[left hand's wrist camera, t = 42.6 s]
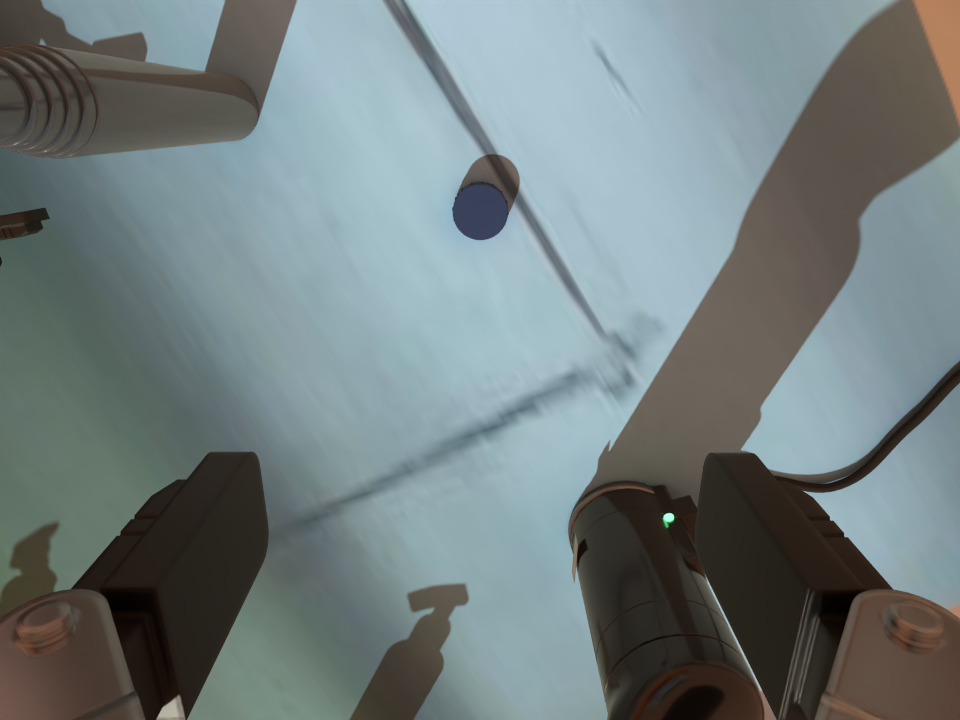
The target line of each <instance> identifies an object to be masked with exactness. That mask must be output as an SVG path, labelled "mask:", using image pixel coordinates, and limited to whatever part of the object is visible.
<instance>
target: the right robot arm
mask: <svg viewBox="0 0 960 720" xmlns="http://www.w3.org/2000/svg"><path fill="white" fill-rule="evenodd" d="M46 219H50V218H49V216H48V213H47V211H46V208H41V209H35V210H30V211H24V212H18V213H13V214H7V215H2V216H0V240H5V239H11V238H16V237H22V236H26V235H30V234H34V233H37V232H39V231H40V230H42V229H43V226H42V224H41V221H42V220H46ZM1 264H2V260H1V257H0V266H1Z"/></svg>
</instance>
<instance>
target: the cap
mask: <svg viewBox="0 0 960 720" xmlns="http://www.w3.org/2000/svg"><path fill="white" fill-rule="evenodd" d="M452 210H453V218H454V221H455V224H456V226H457V228H458V229H459V231H461V232H462V233H463V234H464V235H465V236H467V237H469V238H472V239H475V240H485V239H489V238H492V237H494V236H495V235H497V234H498V233H499V232H500V231H501V230H502V229H503V227H504V225H505V223H506V221H507V216H508V208H507V201H506V200H505V198H504V196H503V194H502V191H500V190H498V189H497V188H496V187H495V186H494V185H493V184H492V185H491V184H488V183H484V182H483V181H482V182H476V183H471V184H470V185H468V186H466V187H465V188H462V190H461V191H460V192H459V194H458V195H457V197H455V202H454V206H453V208H452Z"/></svg>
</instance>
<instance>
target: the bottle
mask: <svg viewBox="0 0 960 720" xmlns="http://www.w3.org/2000/svg"><path fill="white" fill-rule="evenodd" d="M257 120H258V105H257V101H256V98H255V96H254V94H253V93H252V91H251V90H250V88H249V87H248V86H247V85H246V84H245V83H244V82H242V81H241V80H239V79H237V78H235V77H233V76H229V75H223V74H217V73H211V72H205V71H199V70H192V69H186V68H180V67H174V66H168V65H162V64H156V63H149V62H143V61H137V60H131V59H125V58H119V57H113V56H107V55H100V54H94V53H88V52H82V51H76V50H70V49H64V48H57V47H51V46H45V45H38V44H27V45H25V44H15V45H9V46H6V47H0V148H3V149H7V150H11V151H16V152H20V153H24V154H29V155H32V156H36V157H49V158H69V157H79V156H89V155H99V154H109V153H119V152H129V151H139V150H149V149H159V148H169V147H179V146H189V145H199V144H209V143H219V142H229V141H237V140H241V139H243V138H245V137H247V136H248V135H249V134H250V133H251V132H252V131H253V129H254V128H255V126H256V123H257Z"/></svg>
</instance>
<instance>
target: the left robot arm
mask: <svg viewBox="0 0 960 720" xmlns="http://www.w3.org/2000/svg"><path fill="white" fill-rule="evenodd" d="M959 383H960V370H959V371H957V372H956V373H955V374H954V375H953V376H952V377H950V378H949V379H948V380H947V381H946V382H945V383H944V384H943V385H942V386H941V387H940V388H939V390H938V391H937V392H936V393H935V394H934V395H933V396H932V397H931V398H930V399H929V401H928V402H927V403H926V404H925V405H924V406H923V407H922V408H921V409H920V410H919V411H918V412H917V413H916V414H915V415H914V416H913V417H912V418H911V419H910V420H908V421H907V422H906V423H905V424H904V425H903V426H902V427H901V428H899V429H898V430H897V431H896V432H895V433H894V434H893V435H892V436H891V438H890V439H889V440H888V441H887V442H886V443H885V444H884V445H883V446H882V447H881V448H880V450H879V451H878V452H877V453H876V454H875V455H874V456H873V457H872V458H871V459H870V460H869V461H868V462H867V463H866V464H865V465H864V466H862V467H861V468H860V469H859V470H857V471H856V472H854V473H853V474H851V475H849V476H847V477H845V478H843V479H841V480H838V481H835V482H832V483H827V484H811V483H805V482H800V481H796V480H792V479H787V478H783V477H777V476H773V475H772V474H771V472H770V471H769V470H768V469H767V468H766V466H765V465H764V464H763V463H762V461H761V460H760V459H759V458H758V457H757V456H756V455H755V454H754V453H709V454H708V455H707V457H706V459H705V462H704V467H703V473H702V480H701V487H700V495H699V502H698V509H697V507H696V506H695V504H694V502H693V500H692V498H691V497H690V495H689V496H685V497H681V498H678V499H674V500H672V498H671V496H670V494H669V492H668V490H667V489H666V487H665V486H664V485H661V486H657V487H650V486H647V485H644V484H641V483H636V482H616V483H611V484H607V485H604V486H601V487H599V488H597V489H595V490H593V491H592V492H590V493H589V494H587V495H586V496H585V497H584V498H583V499H582V500H581V501H580V502H579V503H578V504H577V506H576V507H575V509H574V510H573V512H572V515H571V517H570V520H569V526H568V534H569V540H570V544H571V548H572V551H573V567H572V574H573V579H574V584H575V572H576V567H577V572H578V577H579V581H580V586H581V591H582V595H583V600H584V605H585V609H586V614H587V619H588V623H589V628H590V633H591V637H592V642H593V647H594V652H595V656H596V661H597V666H598V670H599V675H600V680H601V684H602V689H603V694H604V698H605V702H606V707H607V712H608V717H607V720H765V711H764V704H763V699H762V696H761V693H760V691H759V688H758V686H757V684H756V682H755V679H754V677H753V675H752V673H751V671H750V669H749V667H748V665H747V664H746V661H745V659H744V657H743V655H742V653H741V651H740V649H739V647H738V645H737V643H736V641H735V639H734V637H733V635H732V633H731V631H730V629H729V627H728V625H727V623H726V620H725V618H724V616H723V614H722V612H721V610H720V608H719V606H718V604H717V602H716V600H715V598H714V596H713V594H712V592H711V590H710V588H709V585H708V583H707V580H706V577H707V579H708V581H709V583H710V585H711V587H712V589H713V591H714V593H715V595H716V597H717V599H718V601H719V603H720V605H721V607H722V609H723V611H724V613H725V615H726V618H727V620H728V622H729V624H730V626H731V628H732V630H733V632H734V634H735V636H736V638H737V640H738V642H739V644H740V646H741V648H742V650H743V652H744V654H745V656H746V658H747V660H748V662H749V664H750V666H751V668H752V670H753V672H754V674H755V676H756V679H757V681H758V683H759V685H760V687H761V689H762V691H763V693H764V695H765V697H766V699H767V701H768V703H769V705H770V707H771V709H772V711H773V713H774V715H775V717H776V719H777V720H960V619H959V618H958V617H957V616H955V615H954V614H953V613H951V612H950V611H948V610H947V609H945V608H943V607H941V606H940V605H938V604H936V603H934V602H932V601H930V600H927V599H925V598H922V597H920V596H917V595H914V594H910V593H907V592H903V591H898V590H893V589H892V588H891V586H890V585H889V584H888V583H887V582H886V581H885V579H884V578H883V577H882V576H881V575H880V574H879V573H878V571H877V570H876V569H875V568H874V567H873V566H872V565H871V563H870V562H869V561H868V560H867V559H866V558H865V557H864V555H863V554H862V553H861V552H860V551H859V550H858V549H857V547H856V546H855V545H854V544H853V543H852V542H851V541H850V539H849V538H848V537H844V533H843V531H842V530H841V529H840V528H839V527H838V526H837V525H836V523H835V522H834V521H830V517H829V515H828V514H827V513H826V512H825V511H824V510H823V509H822V507H821V506H820V505H819V504H818V503H817V502H816V500H815V499H814V498H813V497H811V496H810V495H808V494H807V493H805V492H803V491H807V492H818V493H824V492H832V491H836V490H840V489H843V488H845V487H848V486H850V485H852V484H854V483H856V482H857V481H859V480H861V479H862V478H864V477H865V476H866V475H868V474H869V473H870V472H871V471H872V470H874V469H875V468H876V467H877V466H878V465H879V464H880V463H881V462H882V461H883V460H884V459H885V458H886V457H887V455H888V454H889V453H890V452H891V451H892V450H893V449H894V448H895V447H896V446H897V445H898V444H899V443H900V441H901V440H902V439H903V438H904V437H905V436H907V435H908V434H909V433H910V432H911V431H912V430H913V429H914V428H915V427H917V426H918V425H919V424H920V423H921V422H922V421H923V420H924V419H925V418H926V417H927V416H928V415H929V414H930V413H931V412H932V411H933V410H934V409H935V408H936V407H937V406H938V405H939V404H940V403H941V401H942V400H943V399H944V398H945V397H946V396H947V395H948V394H949V393H950V392H951V391H952V390H953V389H954V388H955V387H956V386H957V385H958V384H959ZM268 537H269V529H268V520H267V513H266V506H265V498H264V491H263V484H262V477H261V470H260V464H259V460H258V457H257V455H256V454H255V453H254V452H210V453H208V454H207V455H206V456H205V458H204V459H203V460H202V461H201V463H200V464H199V465H198V466H197V467H196V469H195V470H194V471H193V472H192V474H191V475H190V476H189V477H188V479H187V480H176V481H174V482H173V483H171V484H170V485H168V486H167V487H165V488H163V489H162V490H160V491H159V492H157V493H155V494H154V495H152V496H151V497H150V498H149V499H148V501H147V502H146V503H145V504H144V505H143V506H142V507H141V509H140V510H139V511H138V512H137V513H136V514H135V518H134V519H131V520H130V521H129V522H128V524H127V525H126V526H125V527H124V528H123V529H122V531H121V534H120V536H116V537H115V539H114V540H113V541H112V542H111V543H110V544H109V546H108V547H107V548H106V549H105V550H104V551H103V553H102V554H101V555H100V556H99V557H98V558H97V559H96V561H95V562H94V563H93V564H92V565H91V566H90V568H89V569H88V570H87V571H86V572H85V573H84V574H83V576H82V577H81V578H80V579H79V580H78V581H77V583H76V584H75V585H74V586H73V587H72V588H71V589H69V590H62V591H57V592H53V593H50V594H46V595H43V596H40V597H38V598H35V599H33V600H30V601H28V602H26V603H24V604H22V605H20V606H19V607H17V608H15V609H13V610H12V611H10V612H9V613H7V614H6V615H5V616H3V617H2V618H1V619H0V720H187V718H188V716H189V714H190V712H191V710H192V708H193V706H194V704H195V702H196V700H197V698H198V696H199V694H200V692H201V690H202V687H203V685H204V683H205V681H206V679H207V677H208V675H209V673H210V671H211V669H212V667H213V665H214V663H215V661H216V659H217V657H218V655H219V652H220V650H221V648H222V646H223V644H224V642H225V640H226V638H227V636H228V634H229V632H230V630H231V628H232V626H233V624H234V622H235V620H236V618H237V615H238V613H239V611H240V609H241V607H242V605H243V603H244V601H245V599H246V597H247V595H248V593H249V591H250V589H251V587H252V585H253V583H254V580H255V578H256V576H257V574H258V572H259V570H260V568H261V566H262V564H263V562H264V559H265V556H266V552H267V547H268ZM705 575H706V576H705Z"/></svg>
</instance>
